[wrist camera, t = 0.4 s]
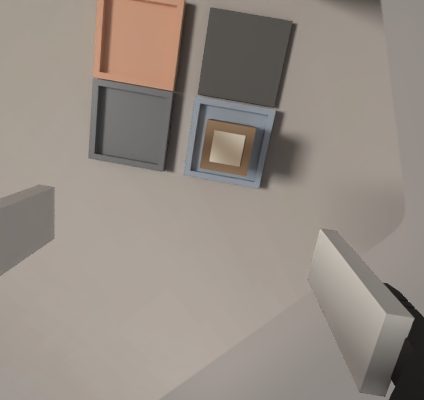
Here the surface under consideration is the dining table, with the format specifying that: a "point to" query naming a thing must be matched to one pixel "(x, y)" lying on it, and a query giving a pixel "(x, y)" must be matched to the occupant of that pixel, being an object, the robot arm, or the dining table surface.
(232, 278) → the dining table surface
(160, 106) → the tray charcoal
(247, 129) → the letter block
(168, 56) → the tray terracotta
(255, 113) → the tray slate
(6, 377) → the dining table surface
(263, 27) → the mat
